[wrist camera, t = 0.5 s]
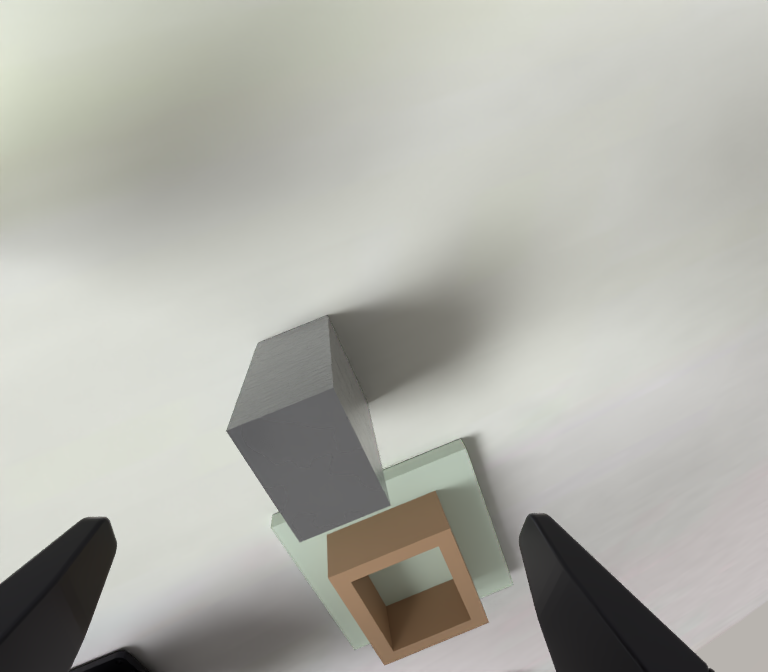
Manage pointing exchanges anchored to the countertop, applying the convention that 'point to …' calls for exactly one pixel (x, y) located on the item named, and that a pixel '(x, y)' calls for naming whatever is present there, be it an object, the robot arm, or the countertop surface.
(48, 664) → the robot arm
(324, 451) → the brushed grey metal block
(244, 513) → the countertop surface
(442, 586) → the post socket
